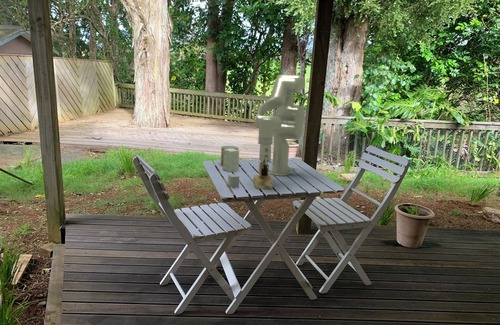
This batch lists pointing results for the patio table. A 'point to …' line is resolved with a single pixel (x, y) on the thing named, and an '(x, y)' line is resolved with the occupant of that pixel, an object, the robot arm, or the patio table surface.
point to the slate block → (233, 180)
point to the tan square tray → (263, 182)
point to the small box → (231, 160)
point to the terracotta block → (261, 169)
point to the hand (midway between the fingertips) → (263, 174)
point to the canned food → (223, 151)
